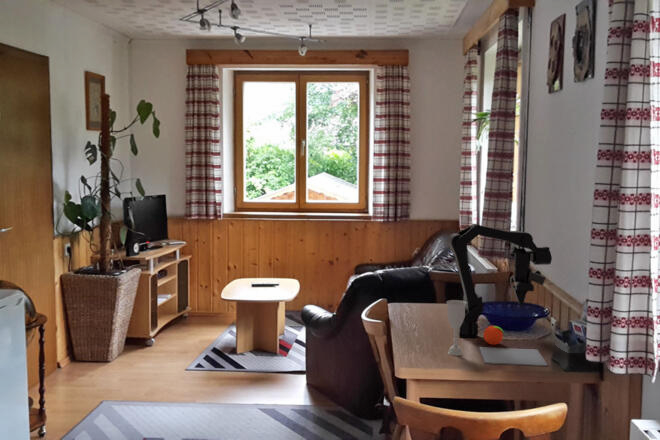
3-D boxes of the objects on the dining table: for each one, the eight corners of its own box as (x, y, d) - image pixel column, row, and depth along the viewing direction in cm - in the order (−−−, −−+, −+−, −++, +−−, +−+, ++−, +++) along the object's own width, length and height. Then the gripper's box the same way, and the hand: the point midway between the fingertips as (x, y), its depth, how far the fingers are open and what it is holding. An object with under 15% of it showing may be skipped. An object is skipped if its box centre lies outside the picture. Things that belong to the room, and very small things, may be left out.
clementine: (508, 345, 234) (509, 326, 234) (499, 349, 229) (501, 329, 228) (488, 340, 239) (489, 321, 239) (479, 344, 234) (480, 325, 233)
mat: (484, 363, 212) (484, 362, 212) (479, 348, 230) (479, 347, 230) (547, 366, 210) (547, 365, 210) (537, 350, 227) (537, 349, 227)
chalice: (460, 357, 218) (462, 305, 217) (441, 354, 222) (443, 302, 220) (468, 352, 225) (469, 301, 223) (449, 349, 228) (451, 299, 227)
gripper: (549, 269, 234) (547, 311, 235) (539, 261, 252) (538, 301, 253) (517, 268, 235) (516, 310, 236) (510, 261, 254) (509, 300, 255)
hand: (521, 305), depth 245 cm, fingers closed
